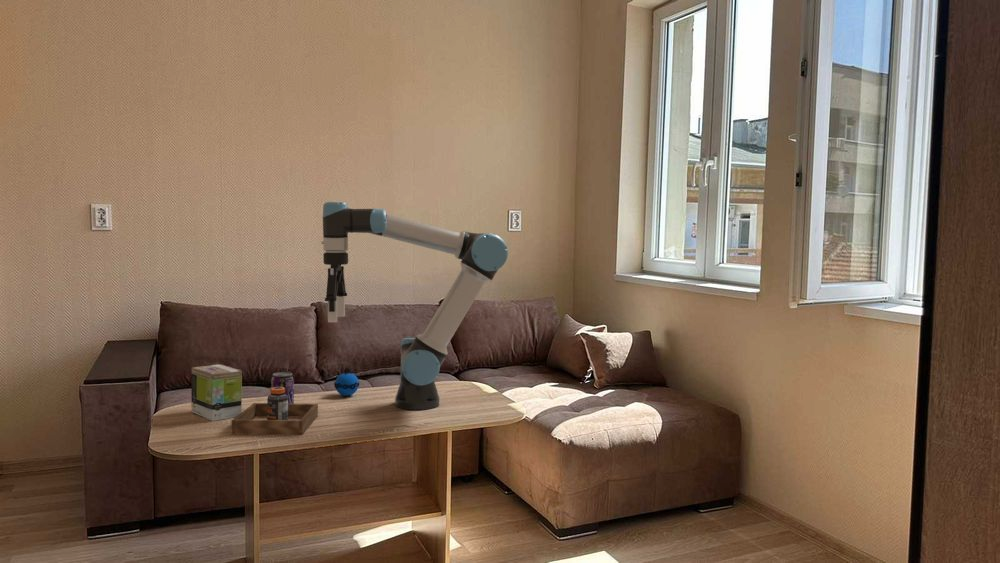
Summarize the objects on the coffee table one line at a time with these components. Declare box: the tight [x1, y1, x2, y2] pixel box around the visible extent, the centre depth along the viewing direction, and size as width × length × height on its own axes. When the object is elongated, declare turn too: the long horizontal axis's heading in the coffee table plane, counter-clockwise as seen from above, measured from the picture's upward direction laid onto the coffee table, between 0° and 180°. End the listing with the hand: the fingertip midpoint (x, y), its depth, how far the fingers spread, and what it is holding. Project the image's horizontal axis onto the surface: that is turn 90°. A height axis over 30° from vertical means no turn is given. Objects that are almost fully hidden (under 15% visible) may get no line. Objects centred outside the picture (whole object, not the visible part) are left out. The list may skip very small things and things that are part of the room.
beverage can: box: [270, 371, 295, 404], centre depth 226 cm, size 7×7×12 cm
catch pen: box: [231, 402, 319, 436], centre depth 210 cm, size 20×20×4 cm
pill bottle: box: [266, 387, 289, 420], centre depth 209 cm, size 6×6×11 cm
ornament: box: [333, 367, 360, 397], centre depth 248 cm, size 9×9×10 cm
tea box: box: [190, 363, 243, 422], centre depth 219 cm, size 15×10×15 cm, turn 47°
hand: (336, 319), depth 219 cm, fingers open, 13 cm apart
